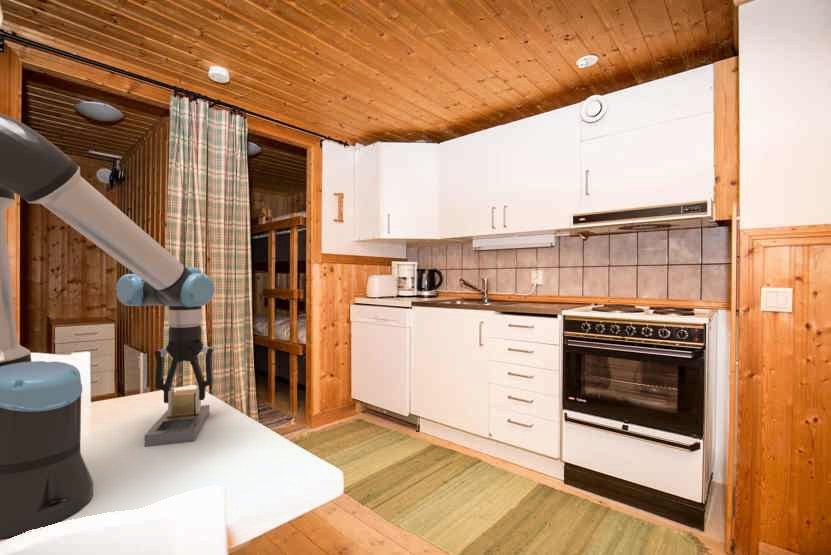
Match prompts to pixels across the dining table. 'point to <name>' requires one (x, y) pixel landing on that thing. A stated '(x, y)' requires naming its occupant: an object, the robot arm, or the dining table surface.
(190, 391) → the block
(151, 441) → the rail
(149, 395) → the dining table surface
